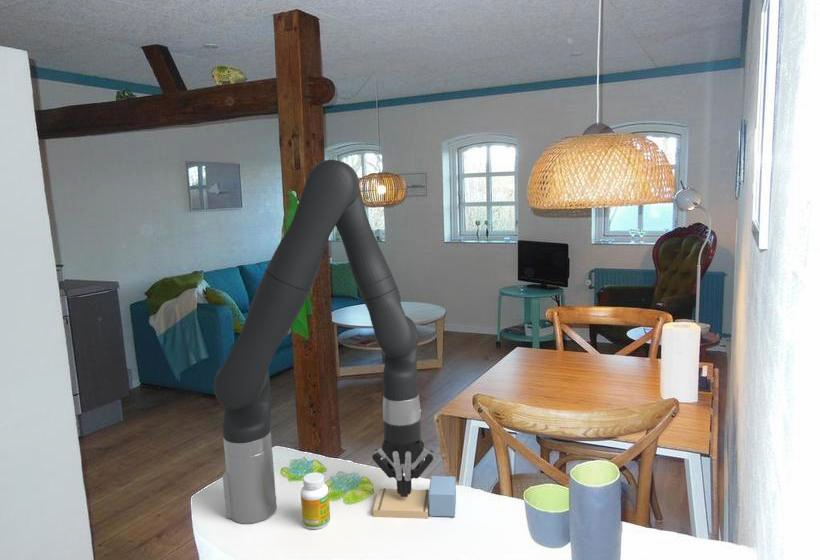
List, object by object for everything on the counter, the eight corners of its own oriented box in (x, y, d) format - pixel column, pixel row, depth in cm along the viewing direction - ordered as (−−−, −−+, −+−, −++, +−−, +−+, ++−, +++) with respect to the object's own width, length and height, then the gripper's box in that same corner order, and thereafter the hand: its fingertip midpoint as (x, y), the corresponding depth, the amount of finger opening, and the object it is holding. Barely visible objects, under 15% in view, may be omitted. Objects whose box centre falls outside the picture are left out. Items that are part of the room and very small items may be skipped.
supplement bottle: (324, 531, 115) (322, 485, 113) (298, 529, 116) (295, 483, 114) (333, 515, 120) (331, 471, 118) (308, 513, 121) (305, 469, 119)
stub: (428, 515, 118) (428, 494, 117) (431, 496, 125) (430, 476, 124) (454, 516, 118) (454, 495, 117) (455, 497, 124) (455, 476, 124)
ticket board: (373, 516, 119) (373, 509, 119) (379, 494, 127) (379, 488, 126) (428, 518, 118) (427, 511, 117) (430, 496, 126) (430, 489, 125)
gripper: (365, 423, 115) (369, 504, 119) (433, 424, 114) (435, 506, 117) (372, 407, 123) (375, 484, 126) (435, 408, 121) (437, 486, 125)
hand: (404, 494), depth 122 cm, fingers closed
